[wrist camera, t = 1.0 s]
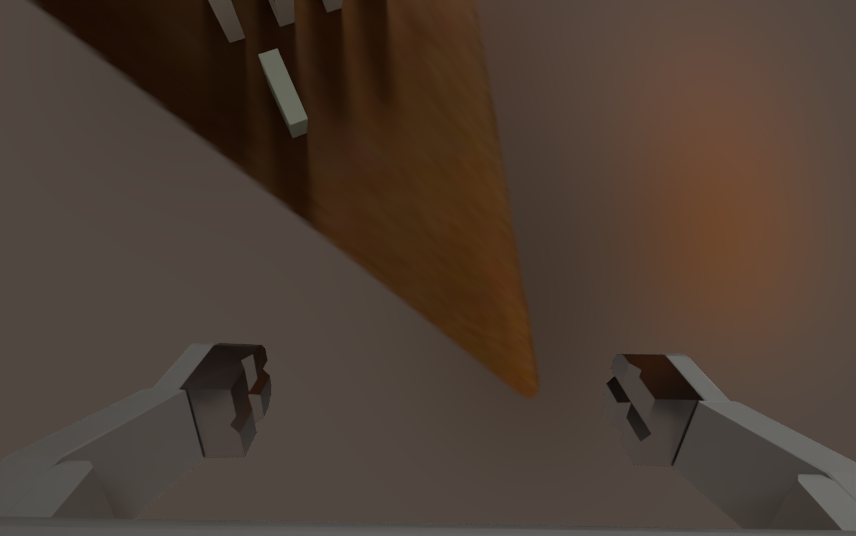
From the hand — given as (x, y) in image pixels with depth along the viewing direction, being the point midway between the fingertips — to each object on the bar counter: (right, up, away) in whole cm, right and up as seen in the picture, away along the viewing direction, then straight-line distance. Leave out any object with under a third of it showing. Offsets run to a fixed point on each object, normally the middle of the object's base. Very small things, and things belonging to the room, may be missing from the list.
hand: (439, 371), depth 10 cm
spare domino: (-13, +17, +29) cm, 36 cm away
